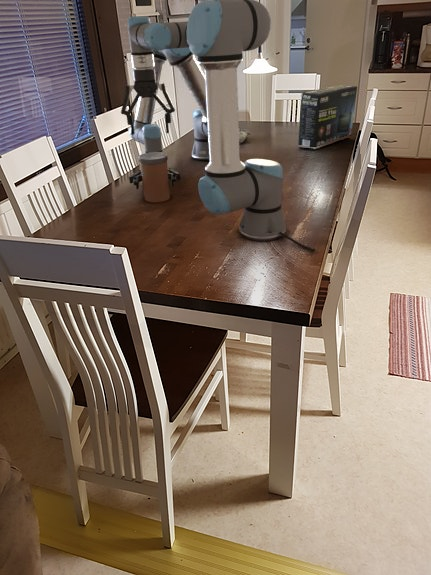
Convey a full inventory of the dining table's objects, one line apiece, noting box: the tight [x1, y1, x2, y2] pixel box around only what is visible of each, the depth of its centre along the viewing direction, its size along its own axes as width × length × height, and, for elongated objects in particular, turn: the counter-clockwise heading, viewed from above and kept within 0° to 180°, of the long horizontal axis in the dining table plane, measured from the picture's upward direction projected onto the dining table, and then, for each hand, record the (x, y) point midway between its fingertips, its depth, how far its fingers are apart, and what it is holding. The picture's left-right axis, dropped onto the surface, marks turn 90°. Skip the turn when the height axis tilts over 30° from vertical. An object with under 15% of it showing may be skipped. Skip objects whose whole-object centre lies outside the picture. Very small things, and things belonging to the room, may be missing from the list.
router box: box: [297, 84, 358, 151], centre depth 238 cm, size 36×11×27 cm, turn 134°
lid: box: [138, 151, 169, 164], centre depth 173 cm, size 11×11×2 cm
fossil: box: [239, 127, 251, 145], centre depth 256 cm, size 18×11×15 cm
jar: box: [139, 160, 171, 203], centre depth 177 cm, size 10×10×16 cm
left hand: (154, 184), depth 175 cm, fingers open, 13 cm apart
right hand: (150, 133), depth 168 cm, fingers open, 12 cm apart
